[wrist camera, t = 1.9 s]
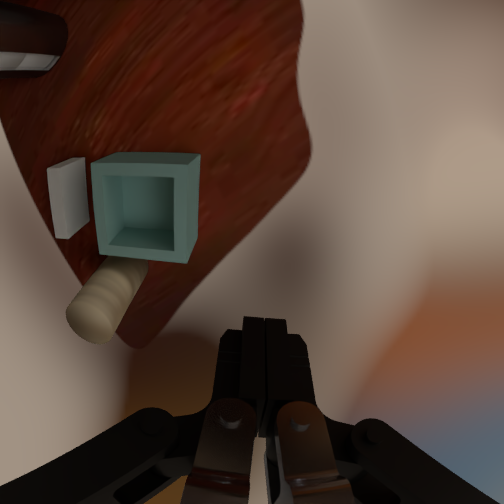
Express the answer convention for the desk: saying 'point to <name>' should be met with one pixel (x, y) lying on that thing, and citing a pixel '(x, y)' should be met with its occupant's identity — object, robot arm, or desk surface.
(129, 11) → the desk surface
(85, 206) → the grey flat slab
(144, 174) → the grey-green open box
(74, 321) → the dowel
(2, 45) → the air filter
